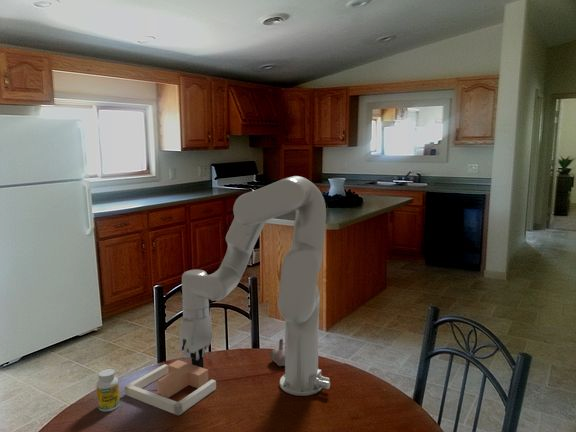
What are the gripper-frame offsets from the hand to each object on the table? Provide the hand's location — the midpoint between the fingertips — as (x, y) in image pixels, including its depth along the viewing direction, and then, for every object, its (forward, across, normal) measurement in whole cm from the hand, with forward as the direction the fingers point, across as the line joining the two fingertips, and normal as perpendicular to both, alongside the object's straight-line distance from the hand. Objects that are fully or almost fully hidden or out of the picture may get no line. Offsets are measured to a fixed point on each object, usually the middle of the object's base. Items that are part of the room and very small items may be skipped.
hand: (197, 369), depth 134 cm
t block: (+1, +8, 0) cm, 8 cm away
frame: (+1, +12, 0) cm, 12 cm away
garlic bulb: (+2, -19, +18) cm, 27 cm away
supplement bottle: (+2, +25, -9) cm, 26 cm away
